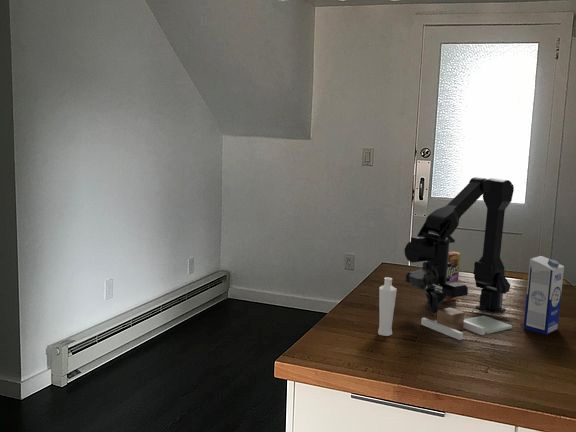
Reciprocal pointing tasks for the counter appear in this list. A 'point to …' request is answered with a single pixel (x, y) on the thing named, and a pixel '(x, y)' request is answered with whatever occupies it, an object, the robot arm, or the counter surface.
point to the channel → (453, 332)
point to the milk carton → (543, 295)
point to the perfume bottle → (386, 307)
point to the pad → (489, 324)
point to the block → (451, 318)
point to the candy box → (453, 270)
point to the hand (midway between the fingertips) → (433, 313)
